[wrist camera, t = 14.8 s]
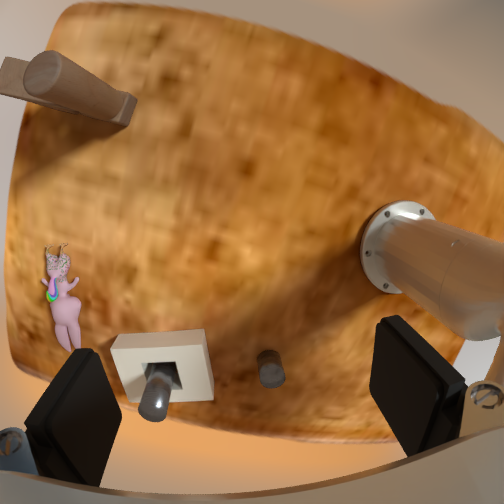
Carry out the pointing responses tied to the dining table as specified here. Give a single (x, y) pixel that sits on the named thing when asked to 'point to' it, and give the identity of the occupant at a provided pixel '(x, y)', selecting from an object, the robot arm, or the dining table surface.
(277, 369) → the short pin
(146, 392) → the long pin
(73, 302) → the pink toy figurine
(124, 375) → the hole block
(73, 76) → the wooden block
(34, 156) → the dining table surface
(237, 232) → the dining table surface
